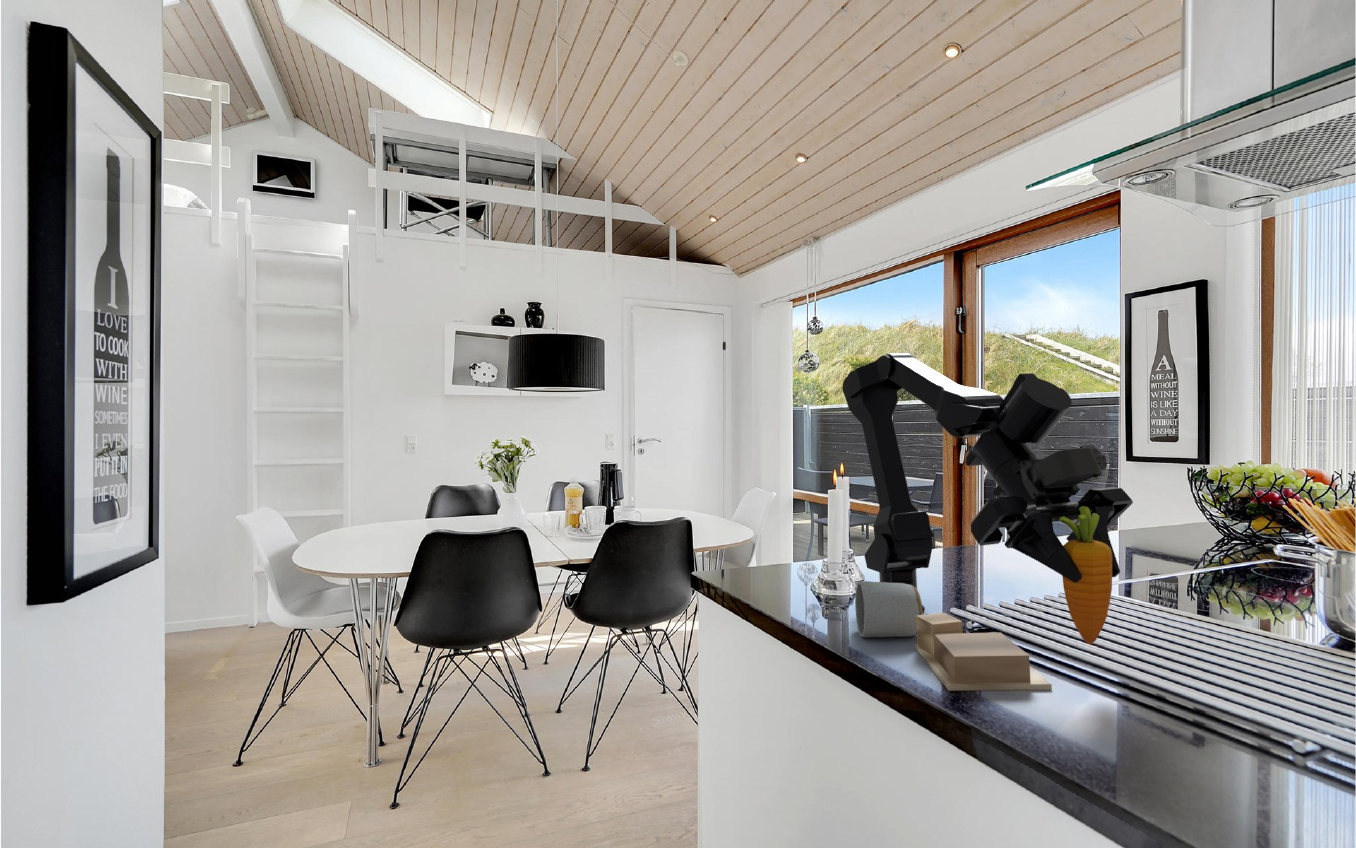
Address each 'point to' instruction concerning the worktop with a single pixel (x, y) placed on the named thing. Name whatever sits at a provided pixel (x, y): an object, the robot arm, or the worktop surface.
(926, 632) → the oak cube
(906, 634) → the grey cylinder on side
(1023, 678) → the light brown square block
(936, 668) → the birch board
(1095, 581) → the carrot
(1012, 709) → the worktop surface
